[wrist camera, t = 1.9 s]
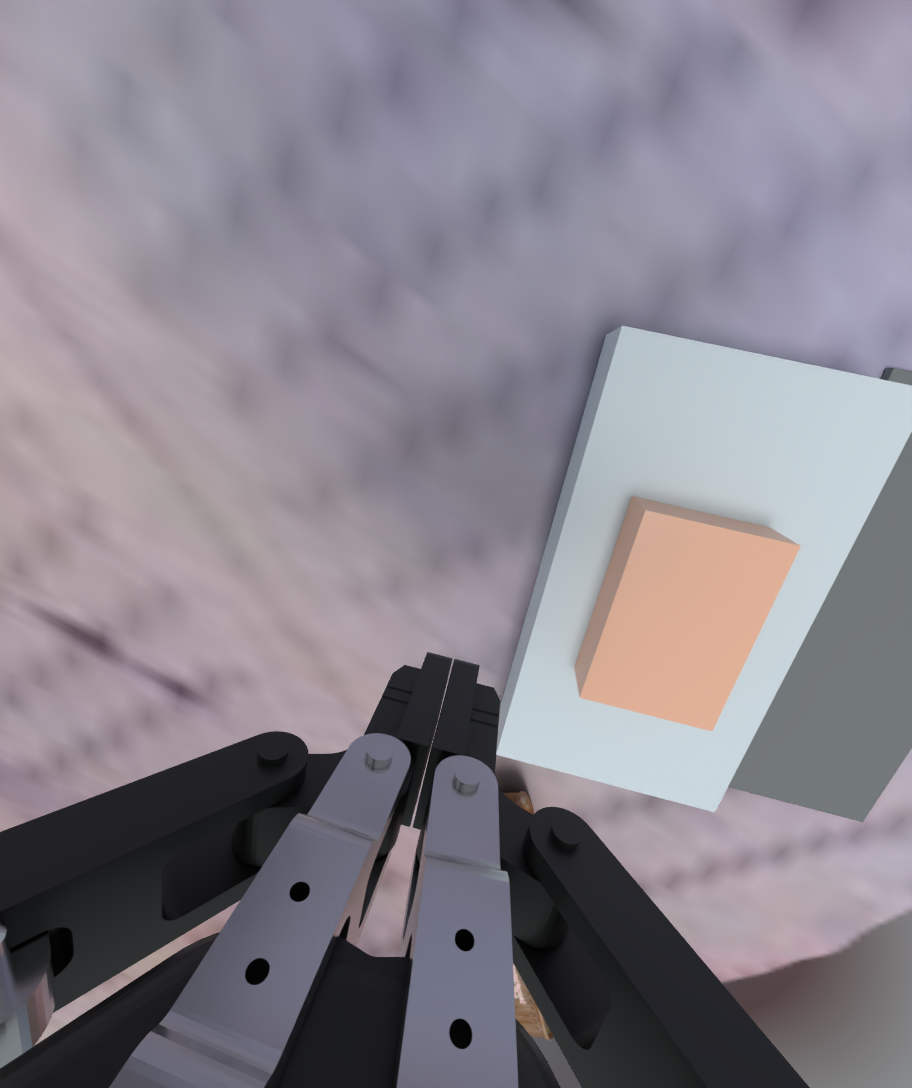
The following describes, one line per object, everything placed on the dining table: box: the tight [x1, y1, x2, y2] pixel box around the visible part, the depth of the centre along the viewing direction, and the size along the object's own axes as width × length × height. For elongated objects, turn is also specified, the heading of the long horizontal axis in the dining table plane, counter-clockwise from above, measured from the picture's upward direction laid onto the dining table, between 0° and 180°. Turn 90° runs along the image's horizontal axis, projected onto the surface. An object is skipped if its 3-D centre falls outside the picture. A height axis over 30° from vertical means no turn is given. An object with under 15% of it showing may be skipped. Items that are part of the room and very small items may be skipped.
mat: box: [728, 368, 912, 822], centre depth 25 cm, size 24×10×1 cm, turn 169°
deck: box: [496, 326, 912, 812], centre depth 24 cm, size 22×12×4 cm, turn 169°
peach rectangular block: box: [574, 496, 801, 731], centre depth 21 cm, size 9×6×2 cm, turn 169°
